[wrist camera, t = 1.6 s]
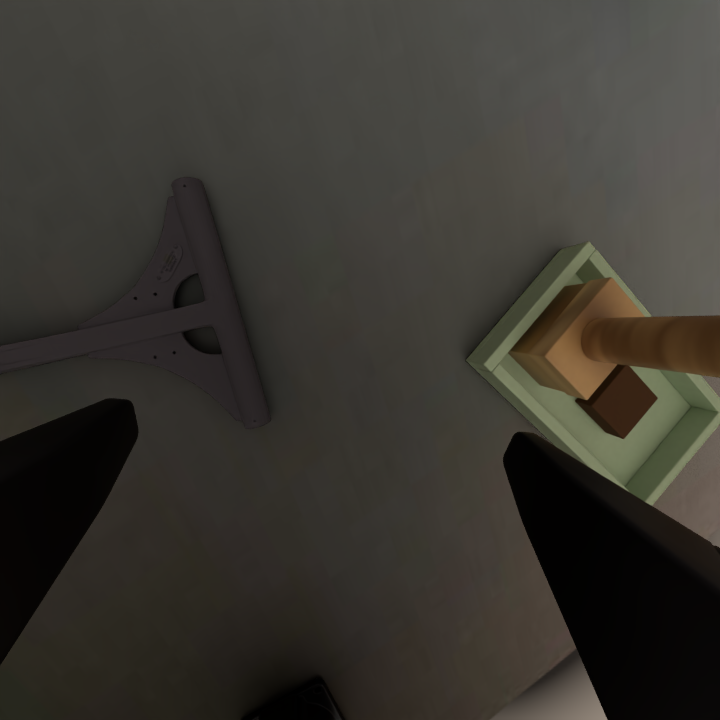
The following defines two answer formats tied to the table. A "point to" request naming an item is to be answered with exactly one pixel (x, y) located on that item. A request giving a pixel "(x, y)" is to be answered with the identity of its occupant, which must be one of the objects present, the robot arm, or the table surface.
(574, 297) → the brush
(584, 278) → the tray
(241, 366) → the bracket
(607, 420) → the dark brown block
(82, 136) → the table surface
